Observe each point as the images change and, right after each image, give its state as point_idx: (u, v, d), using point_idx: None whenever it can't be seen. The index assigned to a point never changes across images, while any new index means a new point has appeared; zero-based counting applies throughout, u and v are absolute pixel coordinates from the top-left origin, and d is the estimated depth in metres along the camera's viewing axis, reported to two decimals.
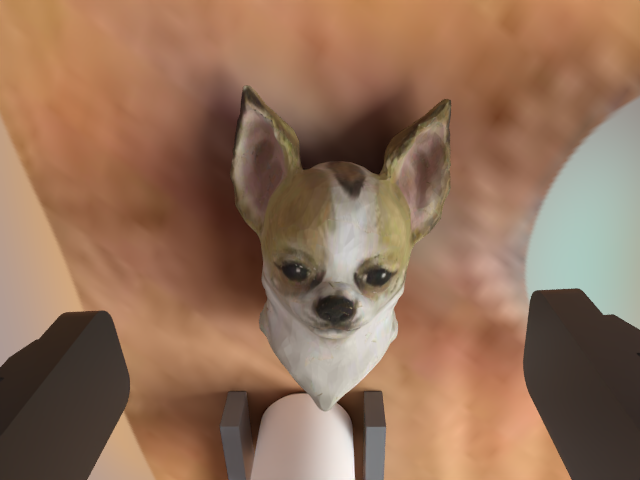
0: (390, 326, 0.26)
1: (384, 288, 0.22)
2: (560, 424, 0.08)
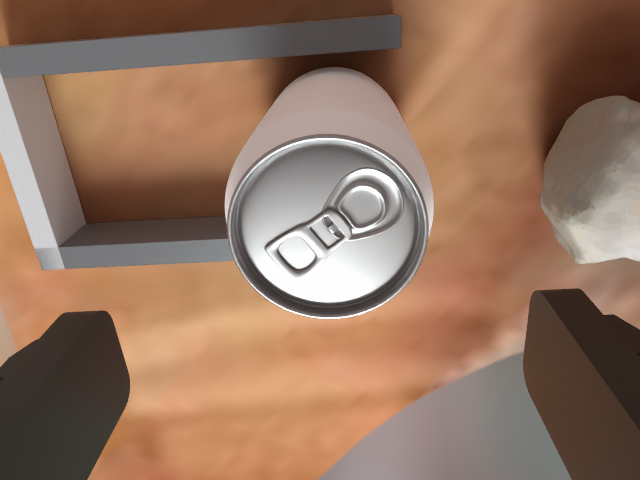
0: (610, 259, 0.22)
1: None
2: (560, 424, 0.08)
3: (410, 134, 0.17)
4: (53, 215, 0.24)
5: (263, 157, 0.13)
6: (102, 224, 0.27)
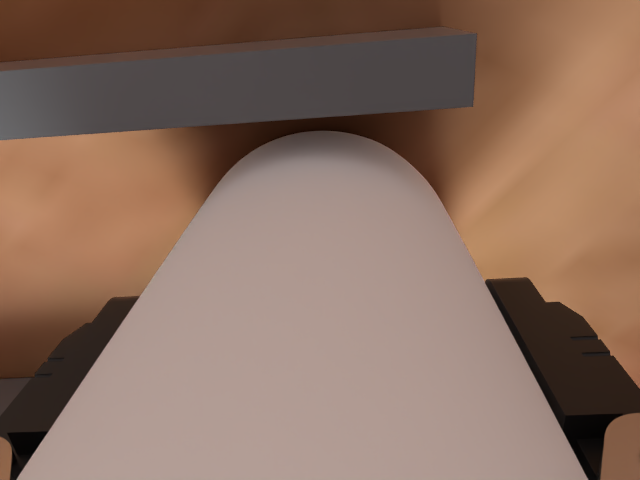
0: None
1: None
2: None
3: (533, 376, 0.06)
4: None
5: None
6: None
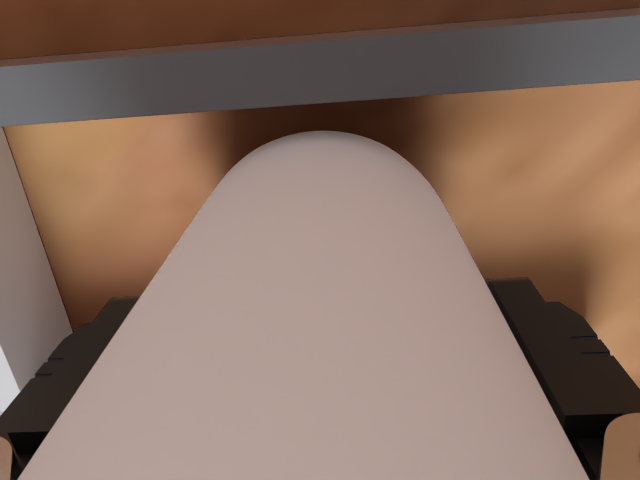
0: None
1: None
2: None
3: (534, 376, 0.06)
4: (19, 358, 0.14)
5: None
6: None
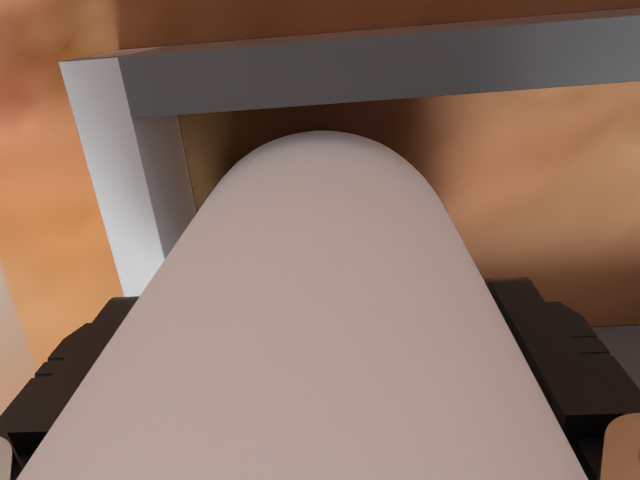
0: None
1: None
2: None
3: None
4: None
5: None
6: None
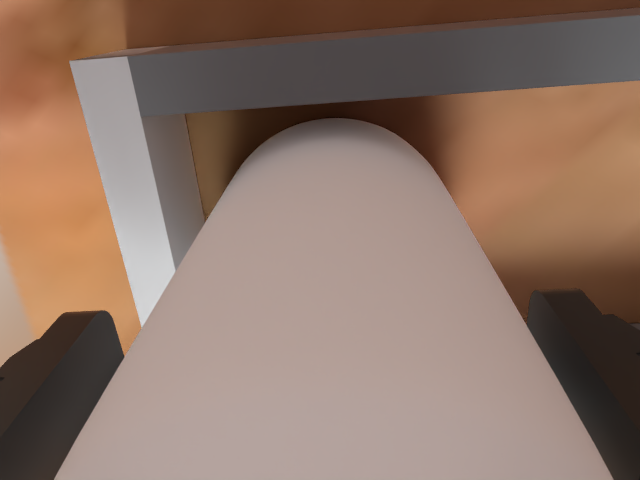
0: None
1: None
2: None
3: None
4: None
5: None
6: None
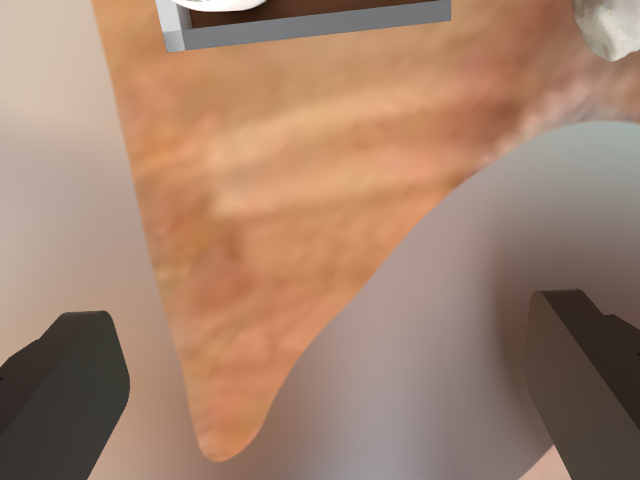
0: (635, 49, 0.30)
1: None
2: (560, 424, 0.08)
3: None
4: None
5: None
6: None
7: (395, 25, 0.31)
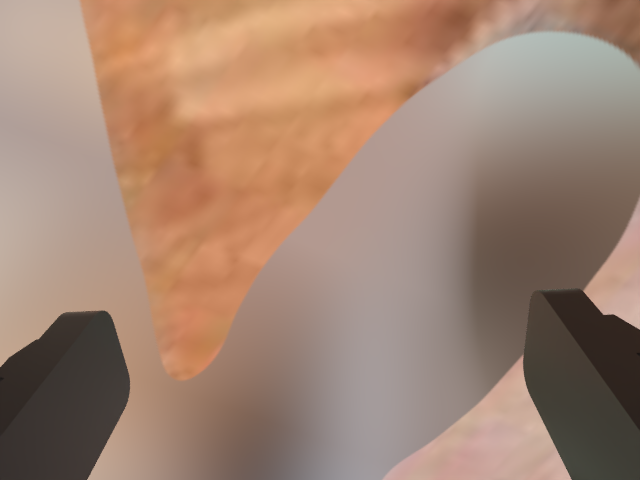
0: None
1: None
2: (560, 424, 0.08)
3: None
4: None
5: None
6: None
7: None
